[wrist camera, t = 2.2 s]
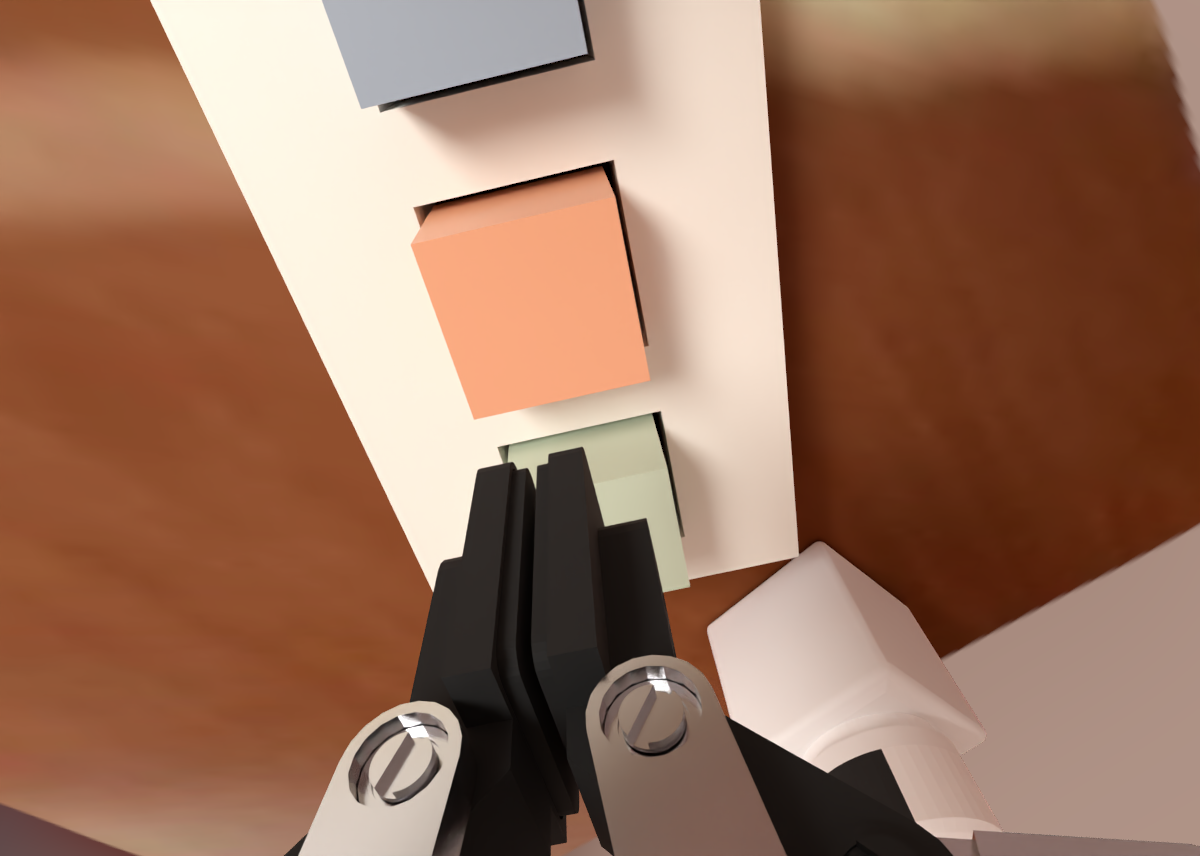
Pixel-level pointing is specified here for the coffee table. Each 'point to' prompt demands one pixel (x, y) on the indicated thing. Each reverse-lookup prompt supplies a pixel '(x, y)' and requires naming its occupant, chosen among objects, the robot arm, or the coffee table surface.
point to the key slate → (447, 41)
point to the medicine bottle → (853, 690)
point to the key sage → (622, 482)
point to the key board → (502, 157)
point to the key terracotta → (533, 292)
